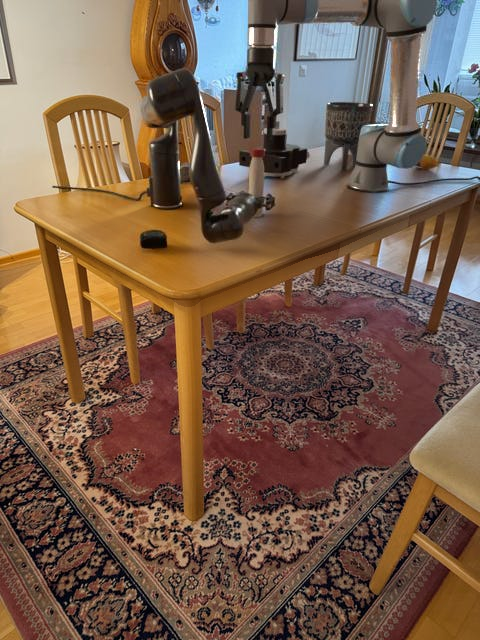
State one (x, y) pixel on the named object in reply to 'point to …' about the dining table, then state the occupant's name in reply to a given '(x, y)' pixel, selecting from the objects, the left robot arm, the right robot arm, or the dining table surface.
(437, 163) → the toy
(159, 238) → the tape measure
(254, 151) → the cap
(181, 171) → the rock
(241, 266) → the dining table surface
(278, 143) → the mechanical component
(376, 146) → the right robot arm
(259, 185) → the bottle
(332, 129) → the planter
